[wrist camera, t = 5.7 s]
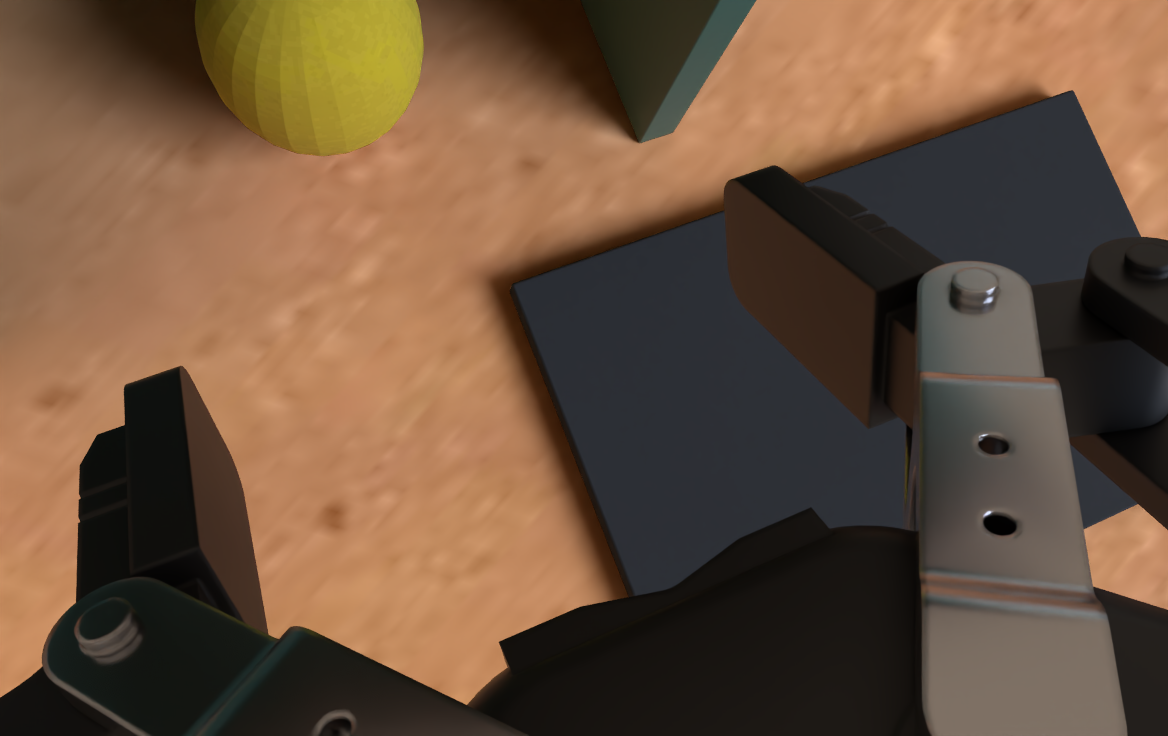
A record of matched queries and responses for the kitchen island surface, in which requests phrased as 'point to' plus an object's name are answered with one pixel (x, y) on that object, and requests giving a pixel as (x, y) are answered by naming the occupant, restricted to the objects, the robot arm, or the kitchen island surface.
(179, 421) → the robot arm
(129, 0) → the kitchen island surface
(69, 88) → the kitchen island surface
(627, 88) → the cupboard
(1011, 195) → the mat
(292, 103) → the lemon
